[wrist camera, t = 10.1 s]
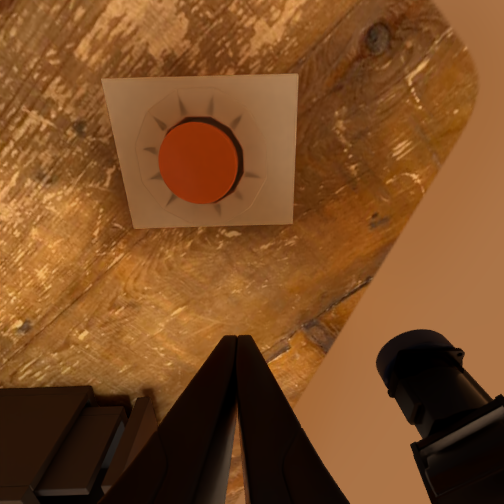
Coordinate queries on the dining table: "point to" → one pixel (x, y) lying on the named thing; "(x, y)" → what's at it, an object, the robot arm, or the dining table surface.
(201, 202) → the button
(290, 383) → the dining table surface
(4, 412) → the drawer cabinet
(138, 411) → the dark brown drawer
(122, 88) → the control block
